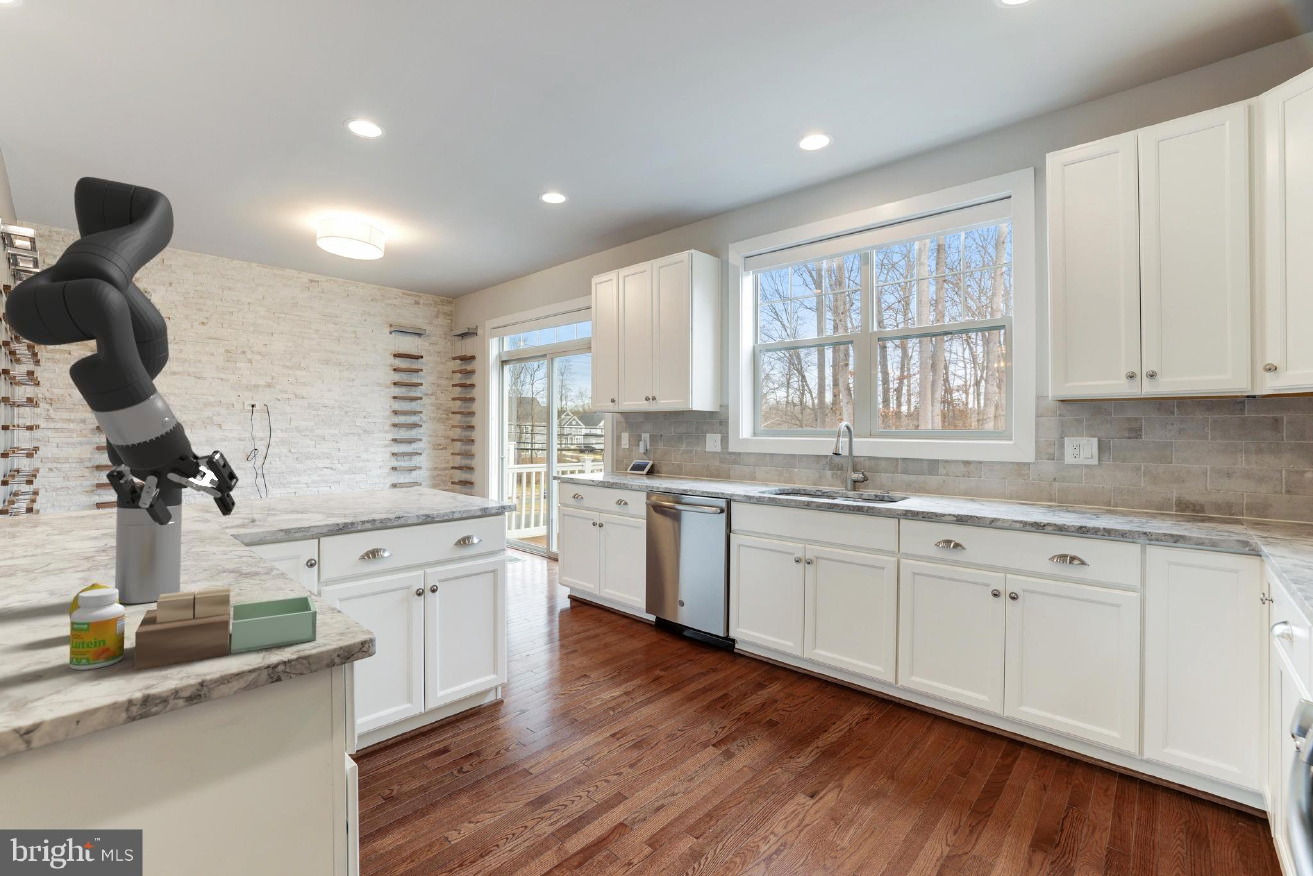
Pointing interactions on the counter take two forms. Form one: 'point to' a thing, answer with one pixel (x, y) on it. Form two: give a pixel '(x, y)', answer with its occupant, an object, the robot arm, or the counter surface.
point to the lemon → (94, 586)
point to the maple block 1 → (176, 606)
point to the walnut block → (180, 639)
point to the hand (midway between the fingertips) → (198, 516)
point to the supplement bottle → (97, 630)
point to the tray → (273, 623)
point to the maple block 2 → (212, 602)
